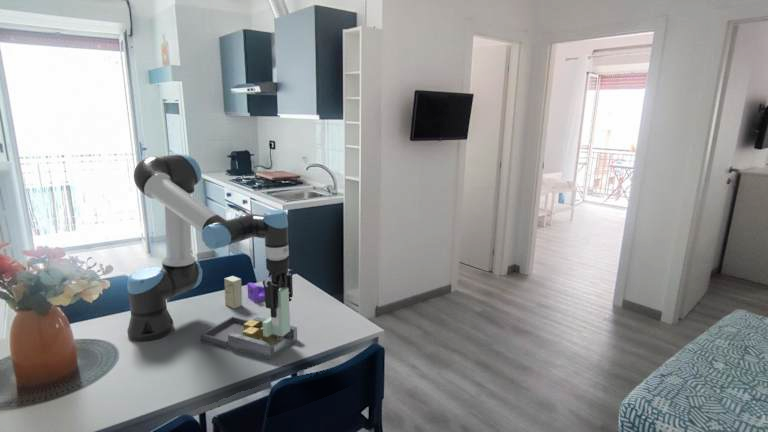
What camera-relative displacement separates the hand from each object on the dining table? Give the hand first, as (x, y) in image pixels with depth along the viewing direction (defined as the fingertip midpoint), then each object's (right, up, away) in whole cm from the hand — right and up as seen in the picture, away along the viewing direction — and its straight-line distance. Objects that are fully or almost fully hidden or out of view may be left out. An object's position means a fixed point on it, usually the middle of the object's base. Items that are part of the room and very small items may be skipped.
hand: (280, 321), depth 148 cm
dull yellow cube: (-13, -6, +10) cm, 17 cm away
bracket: (-18, 0, +46) cm, 49 cm away
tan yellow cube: (-6, -7, +7) cm, 12 cm away
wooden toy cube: (-11, -8, +5) cm, 14 cm away
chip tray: (-21, -7, +11) cm, 25 cm away
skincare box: (-28, -2, +36) cm, 46 cm away
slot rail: (-7, -9, +5) cm, 13 cm away
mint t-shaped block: (0, -4, +1) cm, 4 cm away
